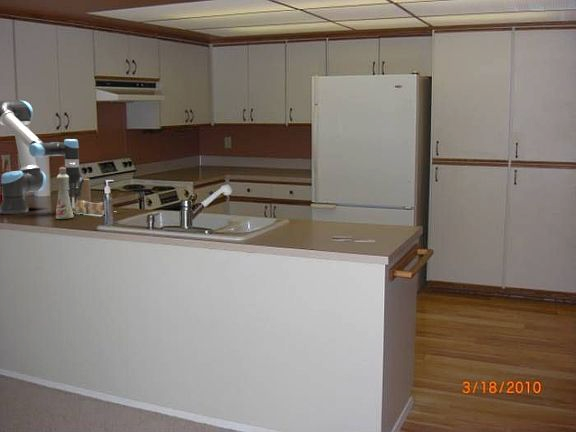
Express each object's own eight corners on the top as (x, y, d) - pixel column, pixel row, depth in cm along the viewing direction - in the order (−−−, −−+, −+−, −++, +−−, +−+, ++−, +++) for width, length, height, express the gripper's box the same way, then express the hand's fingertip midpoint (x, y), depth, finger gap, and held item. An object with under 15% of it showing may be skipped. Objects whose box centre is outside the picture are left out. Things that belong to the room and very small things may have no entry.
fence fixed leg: (104, 215, 383) (104, 202, 382) (102, 216, 381) (101, 202, 380) (87, 214, 391) (87, 200, 390) (85, 214, 389) (84, 201, 388)
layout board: (100, 216, 380) (100, 216, 380) (67, 213, 395) (67, 212, 395) (124, 213, 394) (124, 212, 393) (91, 209, 409) (91, 208, 409)
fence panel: (87, 212, 391) (86, 200, 390) (85, 212, 390) (84, 200, 389) (76, 210, 399) (75, 199, 398) (74, 211, 398) (73, 199, 397)
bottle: (73, 219, 372) (70, 166, 368) (55, 220, 369) (52, 167, 365) (73, 217, 380) (70, 165, 376) (56, 217, 377) (53, 166, 373)
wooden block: (74, 210, 409) (72, 179, 406) (75, 209, 413) (74, 178, 410) (90, 209, 410) (88, 179, 407) (91, 208, 414) (89, 178, 412)
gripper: (60, 167, 385) (61, 209, 389) (84, 167, 390) (85, 208, 393) (60, 166, 392) (61, 207, 396) (83, 166, 397) (84, 207, 400)
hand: (73, 208), depth 394 cm, fingers closed
